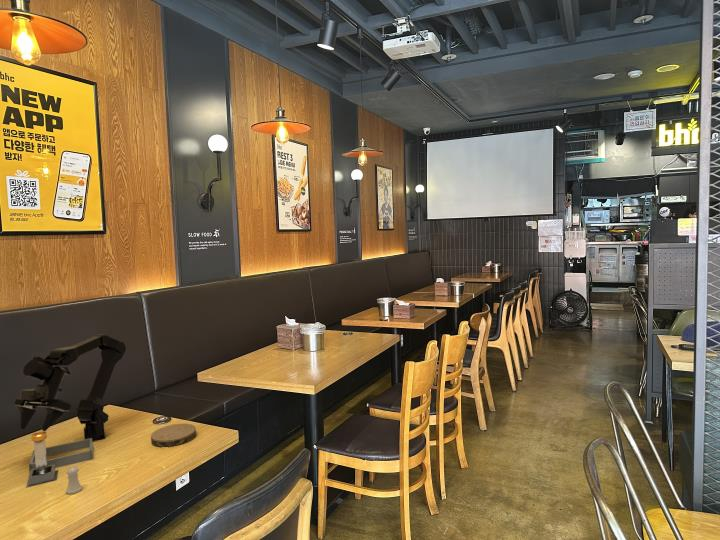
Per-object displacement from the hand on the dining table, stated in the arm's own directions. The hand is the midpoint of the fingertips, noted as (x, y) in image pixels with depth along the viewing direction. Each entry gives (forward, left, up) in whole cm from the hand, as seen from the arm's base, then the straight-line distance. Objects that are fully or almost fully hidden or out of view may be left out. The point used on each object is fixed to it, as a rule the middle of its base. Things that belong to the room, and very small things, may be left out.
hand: (32, 430), depth 159 cm
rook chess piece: (-12, +27, -14) cm, 32 cm away
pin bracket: (-3, +12, -14) cm, 18 cm away
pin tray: (-8, -1, -14) cm, 16 cm away
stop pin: (-3, +12, -13) cm, 17 cm away
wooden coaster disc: (-44, +1, -14) cm, 46 cm away
